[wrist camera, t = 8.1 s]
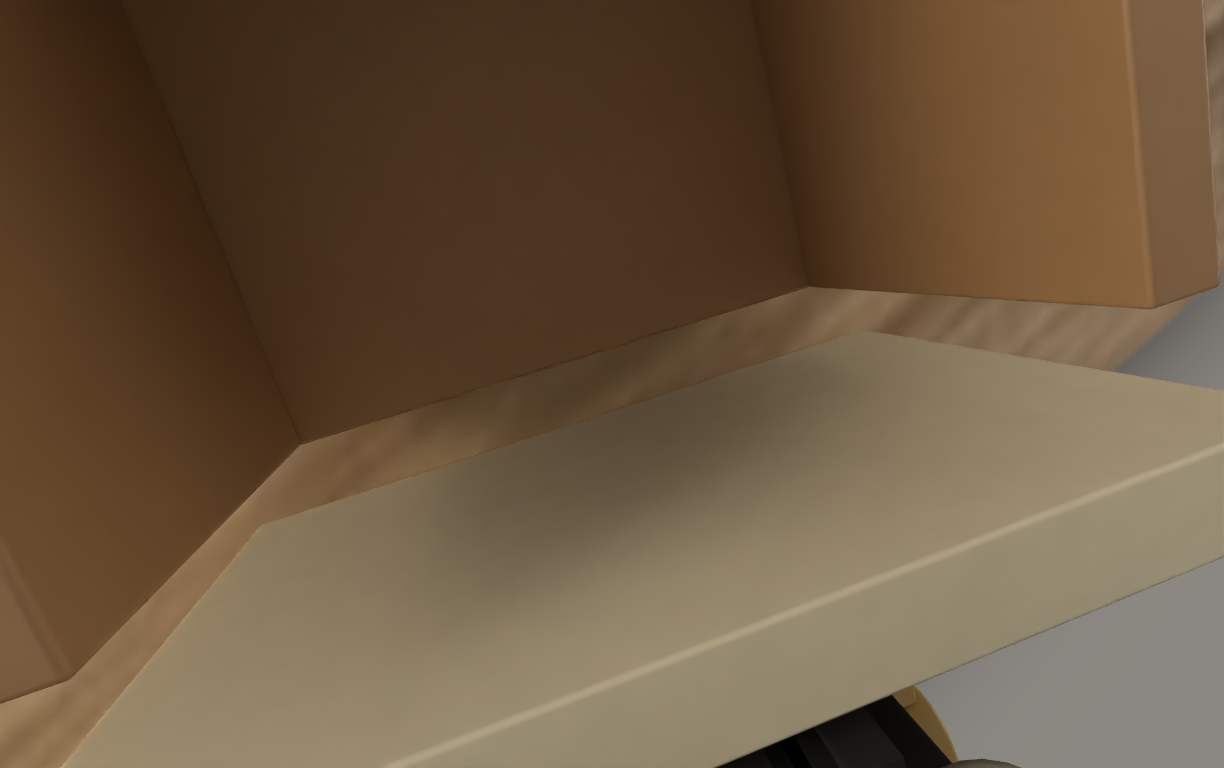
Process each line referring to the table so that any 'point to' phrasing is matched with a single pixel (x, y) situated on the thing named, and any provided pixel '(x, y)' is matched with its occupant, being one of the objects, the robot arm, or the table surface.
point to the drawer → (574, 328)
